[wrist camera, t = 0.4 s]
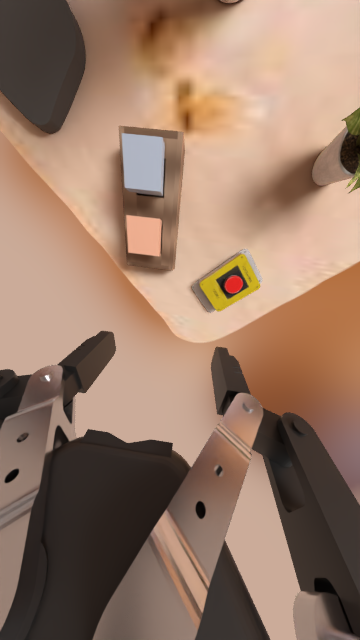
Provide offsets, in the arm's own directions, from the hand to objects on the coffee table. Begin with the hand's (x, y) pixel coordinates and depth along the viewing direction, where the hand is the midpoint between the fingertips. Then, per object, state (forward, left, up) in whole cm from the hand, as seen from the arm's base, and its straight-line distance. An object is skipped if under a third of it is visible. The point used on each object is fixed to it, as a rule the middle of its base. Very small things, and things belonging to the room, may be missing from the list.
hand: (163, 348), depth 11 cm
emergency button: (-1, +10, -28) cm, 29 cm away
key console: (-13, -8, -27) cm, 31 cm away
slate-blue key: (-17, -8, -23) cm, 30 cm away
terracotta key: (-8, -8, -23) cm, 26 cm away
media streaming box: (-32, -28, -27) cm, 50 cm away
